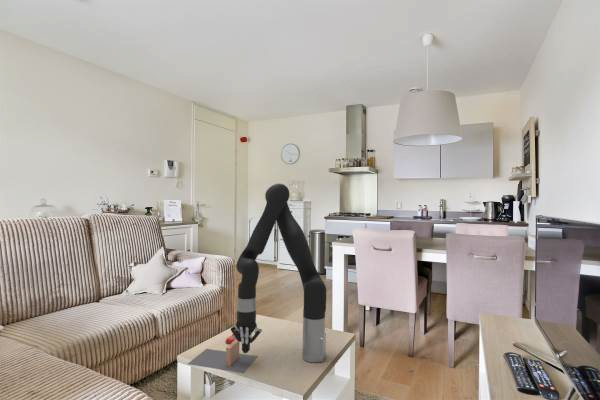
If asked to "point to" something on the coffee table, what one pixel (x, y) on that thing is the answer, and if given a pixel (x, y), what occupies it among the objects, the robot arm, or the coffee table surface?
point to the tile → (232, 353)
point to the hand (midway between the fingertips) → (245, 352)
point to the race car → (231, 339)
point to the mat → (222, 361)
